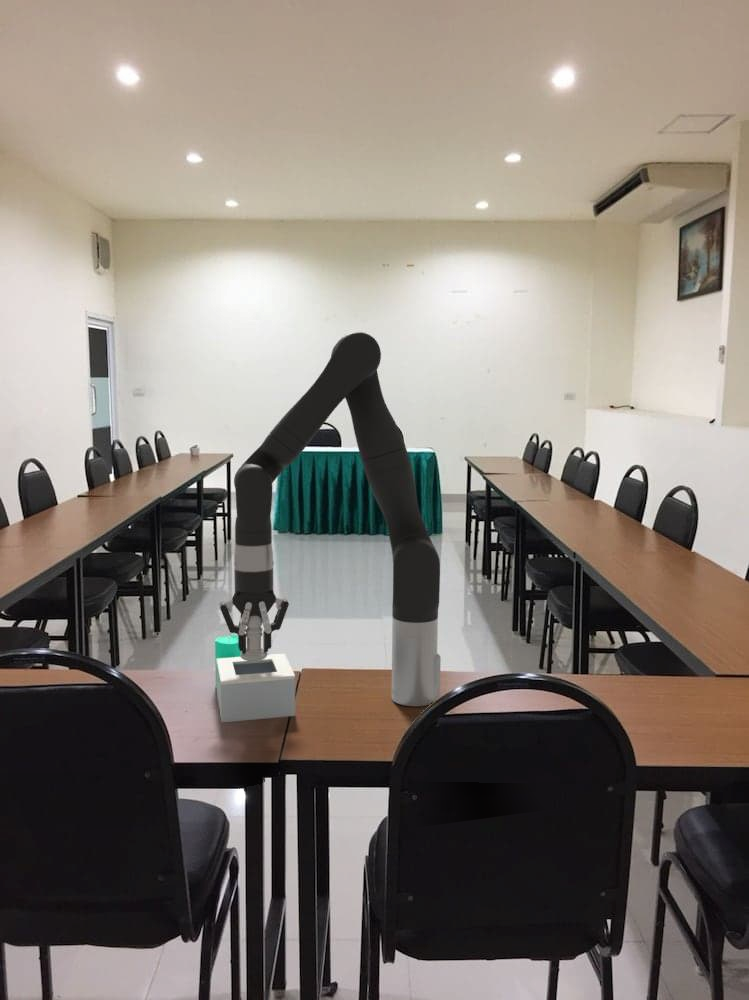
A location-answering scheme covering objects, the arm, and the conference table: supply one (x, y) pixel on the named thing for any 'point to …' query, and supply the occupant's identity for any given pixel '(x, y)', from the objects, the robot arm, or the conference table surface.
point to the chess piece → (254, 640)
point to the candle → (226, 648)
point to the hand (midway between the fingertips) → (254, 651)
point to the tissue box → (255, 688)
